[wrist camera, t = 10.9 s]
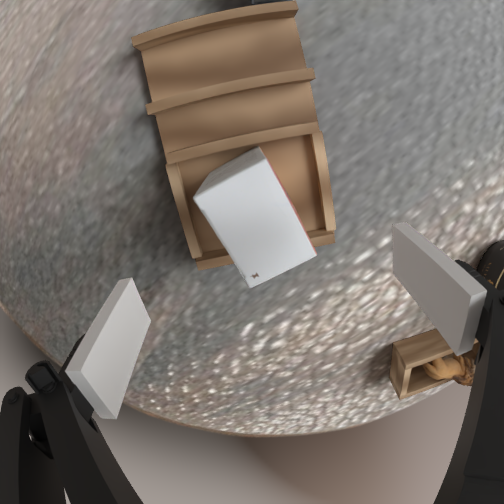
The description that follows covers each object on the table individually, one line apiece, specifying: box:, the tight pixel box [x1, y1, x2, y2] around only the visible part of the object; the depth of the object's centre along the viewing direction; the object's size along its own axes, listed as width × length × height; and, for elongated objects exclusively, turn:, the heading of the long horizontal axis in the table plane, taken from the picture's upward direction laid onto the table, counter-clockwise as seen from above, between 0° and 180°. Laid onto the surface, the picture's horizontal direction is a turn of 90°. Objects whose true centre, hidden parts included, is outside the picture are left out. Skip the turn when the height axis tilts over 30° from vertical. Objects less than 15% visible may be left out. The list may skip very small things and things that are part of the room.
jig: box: [131, 1, 336, 271], centre depth 27 cm, size 25×15×4 cm, turn 12°
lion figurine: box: [422, 352, 476, 386], centre depth 38 cm, size 15×5×9 cm, turn 82°
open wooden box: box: [389, 328, 480, 400], centre depth 39 cm, size 8×17×5 cm, turn 102°
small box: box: [193, 146, 317, 288], centre depth 26 cm, size 8×6×10 cm
